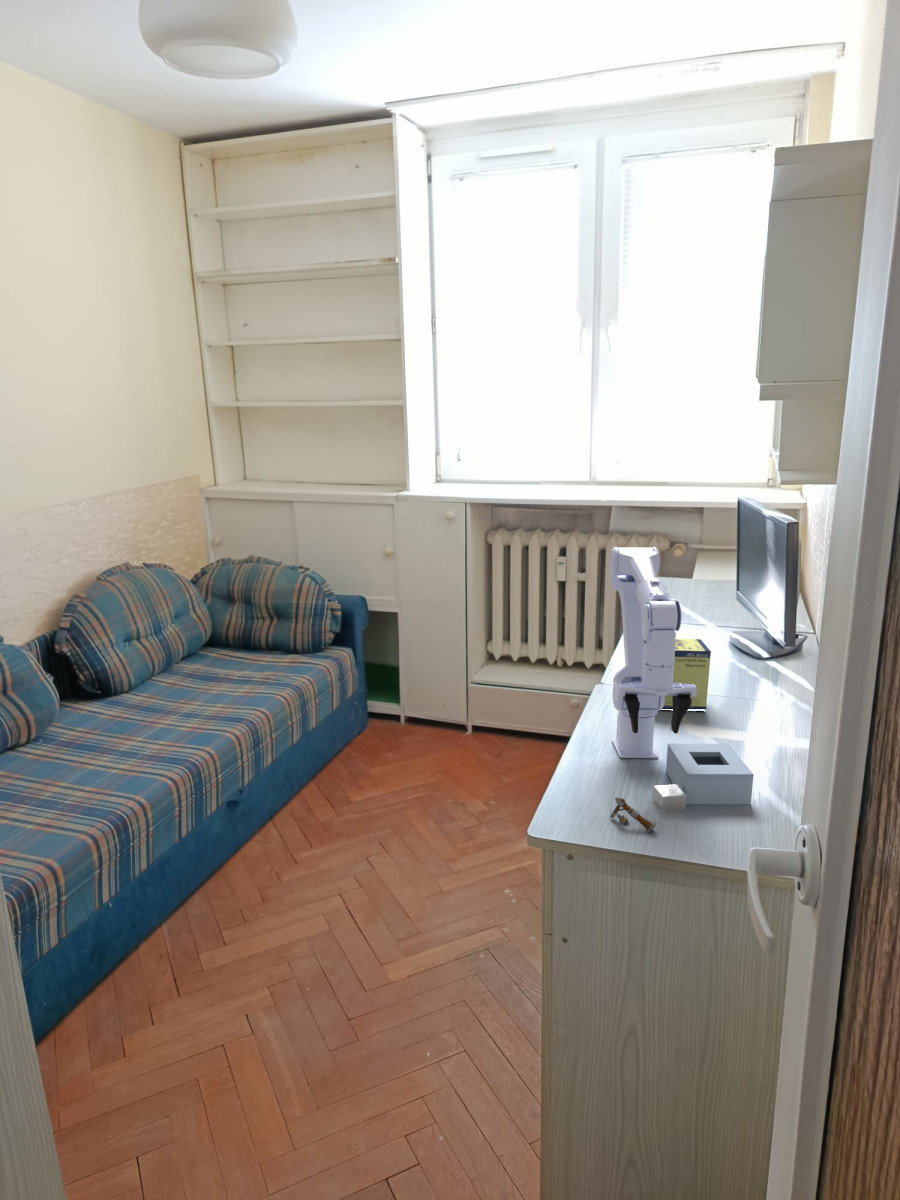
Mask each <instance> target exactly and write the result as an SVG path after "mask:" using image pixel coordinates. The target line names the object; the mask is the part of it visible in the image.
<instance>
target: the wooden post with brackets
mask: <svg viewBox="0 0 900 1200" xmlns="http://www.w3.org/2000/svg"><path fill="white" fill-rule="evenodd" d="M614 800H615V803H616V804H617V805H616V806H615V808H614V810H612V812H611V814H610V816H609V817H610V818H611V819H613V818H615V816H616V817H617V819H619V820H618V822H621V823H622V822H623V823H624V824H623V823H622V824H623V825H627V824H629V825H630V822H629V818H627V817H625V814H623V815H621V814H618V812H620V811H621V812H622V811H625V812H627V814H628V815H629V816H630V817H631V818H633V820H636V821H637V822H638V823H640V824H641V826H642V827H643V828H644V829H645V830H646V832H648V833H647V834H650V832H651V831H652V830H651V829H653V830H654V828H655V827H656V825H657V823H658V822H655V821H654V822H652V821H649V820H648V819H646V818H644V817H643V816H642V815H641V814H640V813H639V812H638V811H636V809H634V808H633V807H631V806H630V805H628V804H627V801H626V799H625V798H622V797H618V796H616V797H614ZM625 823H626V824H625Z"/></svg>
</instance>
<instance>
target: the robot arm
mask: <svg viewBox="0 0 900 1200" xmlns="http://www.w3.org/2000/svg"><path fill="white" fill-rule="evenodd" d="M608 561H609V562H608V564H609V565H608V568H609V569H608V571H609V582H610V585H611V586H610V587H611V588H612V589H613V590H615V591H616V592H618V594H619V595H618V596H619V600H620V605H621V607H620V608H621V617H622V633H623V634H622V636H623V649H624V663H625V666H623V667H622V668H620V669H619V670H618V671H617V672H616V673H615V675H614V676H613V680H612V684H613V686H612V704H613V707H614V708H615V709H616V711H618V712H617V718H616V720H617V722H616V738H611V742H612V744H613V747H614V748H615V751H616V753H617V754H618V757H619V758H620V759H658V758H659V755H658V754H657V752H656V749H655V748H654V735H655V734H654V733H655V720H656V719H655V717H656V716H658V712H661V711H660V710H661V709H662V708H663V706H664V701H665V696H672V702H673V711H672V713H671V715H672V716H671V724H670V725H671V726H670V727H671V729H670V730H671V731H672V732H673V733H674V734H678V733H679V729H680V726H681V723H682V721H683V719H684V716H685V714H686V713H687V712H686V711H687V710H688V708H689V707H690V706H691V703H692V699H691V698H690V697H696V692H697V687H696V686H695V685H694V684H681V683H673V674H674V657H675V640H676V639H677V637H676V636H677V632H679V630H680V628H681V625H682V608H681V604H680V602H679V600H678V599H675V598H671V596H670V594H669V591H668V589H667V587H666V584H665V583H664V582H663V581H662V580H661V579H659V578H657V575H658V573H659V570H660V567H661V566H660V565H661V564H660V563H661V558H660V552H659V550H658V549H657V547H655V546H651V547H617V546H613V547H612V549H610V552H609V559H608Z"/></svg>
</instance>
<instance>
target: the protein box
mask: <svg viewBox="0 0 900 1200" xmlns="http://www.w3.org/2000/svg"><path fill="white" fill-rule="evenodd" d="M711 653H712V651H711V650H710V648H708V646H707V645H706V644H705V642H703V640H702V639H699V638H686V639H685V638H676V640H675V657H674V674H673V683H681V684H694V685H695V686H696V687H697V692H696V697H690V698H691V699H692V703H691V706H690V707H689V708H688V709H706V710H707V701H708V690H709V679H710V678H709V677H710V676H709V675H710V668H711V667H710V666H711V665H710V664H711ZM662 709H673V702H672V696H665V701H664V706H663V708H662Z"/></svg>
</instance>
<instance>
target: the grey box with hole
mask: <svg viewBox="0 0 900 1200" xmlns="http://www.w3.org/2000/svg"><path fill="white" fill-rule="evenodd" d="M666 750H667V751H666V763H665V764H666V765H665V766H666V767H665V773H666V775H668V778H669V779H670V781H671V782H672V785H673V784H677V785H678V786H679V787H680V788H681V789H682V791H683V792H684V793H685V794H686V795H687V799H686V805H738V806H739V805H740V806H741V805H746V806H747V805H752V804H751V803H752V796H753V795H752V794H753V785H754V775H755V774H754V773H753V771H752V770H751V769H750V768H749V767H748V765H746V763H745V762H744V760H742V759H741V757H740V756H739V755H738V754H737V752H736V751H735V750H734V749H733V748H732V747H731V746H730V744H729V743H667V749H666Z"/></svg>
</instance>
